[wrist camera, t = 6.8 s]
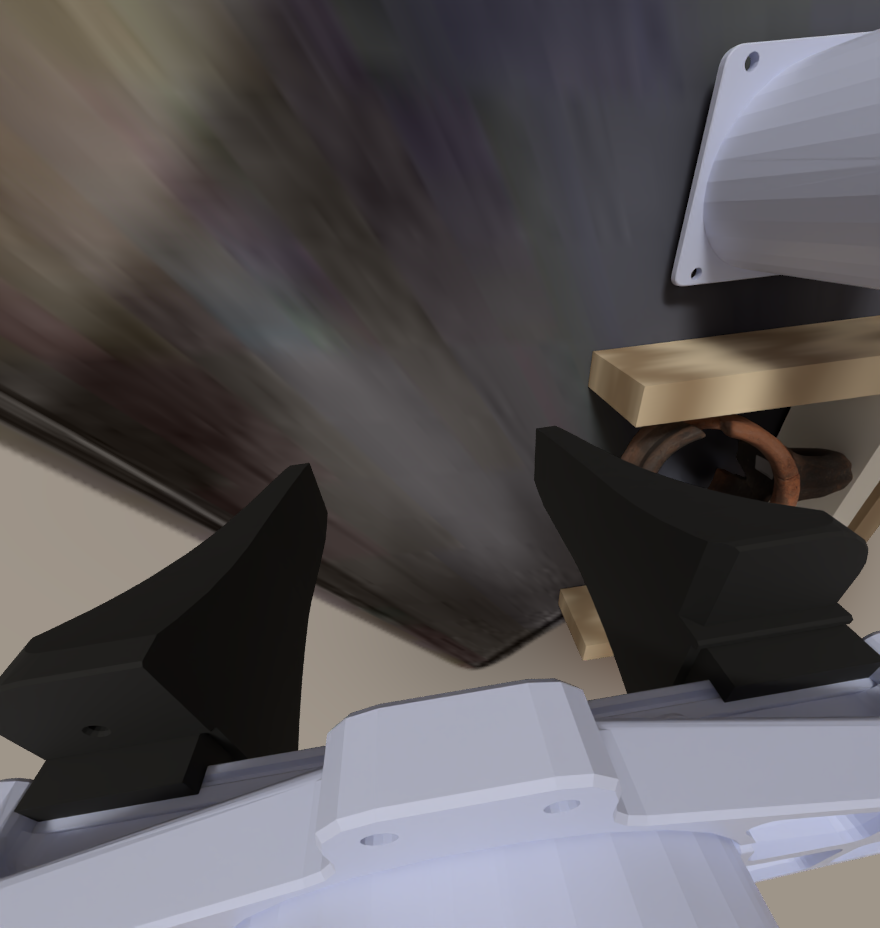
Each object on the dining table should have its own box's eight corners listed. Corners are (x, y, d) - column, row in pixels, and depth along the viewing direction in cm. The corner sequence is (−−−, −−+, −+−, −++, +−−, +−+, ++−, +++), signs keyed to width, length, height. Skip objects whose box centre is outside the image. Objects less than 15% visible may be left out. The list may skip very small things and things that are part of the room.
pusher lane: (897, 313, 21) (1022, 337, 17) (751, 574, 33) (803, 625, 29) (592, 351, 20) (644, 386, 16) (558, 604, 33) (582, 660, 28)
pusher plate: (834, 362, 22) (938, 397, 18) (733, 563, 32) (785, 615, 27) (810, 366, 22) (908, 401, 18) (716, 565, 32) (765, 618, 27)
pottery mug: (611, 534, 29) (639, 590, 21) (583, 413, 27) (602, 424, 20) (802, 503, 25) (922, 556, 17) (780, 363, 24) (898, 352, 16)
